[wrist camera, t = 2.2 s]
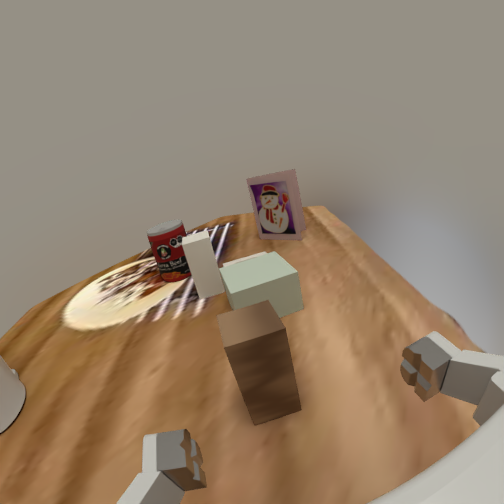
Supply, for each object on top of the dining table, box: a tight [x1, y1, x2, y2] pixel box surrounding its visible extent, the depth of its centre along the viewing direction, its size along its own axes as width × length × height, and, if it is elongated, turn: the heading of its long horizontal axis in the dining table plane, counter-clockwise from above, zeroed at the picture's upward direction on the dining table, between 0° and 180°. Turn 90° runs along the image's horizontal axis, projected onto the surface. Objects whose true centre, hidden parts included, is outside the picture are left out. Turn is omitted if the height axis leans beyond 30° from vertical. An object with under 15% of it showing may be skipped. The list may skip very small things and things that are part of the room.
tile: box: [223, 252, 267, 267], centre depth 55 cm, size 9×9×1 cm
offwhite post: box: [182, 231, 225, 299], centre depth 49 cm, size 4×4×10 cm
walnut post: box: [216, 300, 301, 425], centre depth 23 cm, size 4×4×10 cm
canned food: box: [147, 220, 192, 282], centre depth 59 cm, size 8×8×11 cm
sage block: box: [219, 251, 304, 318], centre depth 41 cm, size 9×9×6 cm
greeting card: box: [247, 169, 306, 240], centre depth 66 cm, size 11×7×15 cm, turn 54°
